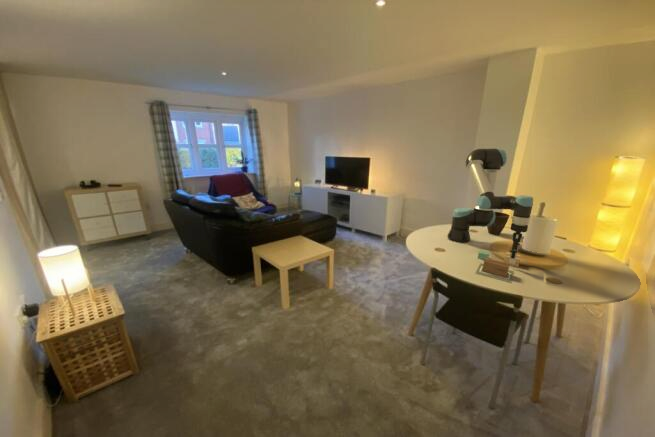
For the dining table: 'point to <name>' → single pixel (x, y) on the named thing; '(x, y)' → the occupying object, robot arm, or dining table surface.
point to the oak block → (515, 260)
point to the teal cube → (483, 254)
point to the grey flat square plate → (508, 279)
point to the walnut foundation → (496, 267)
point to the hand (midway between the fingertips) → (512, 259)
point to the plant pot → (498, 223)
